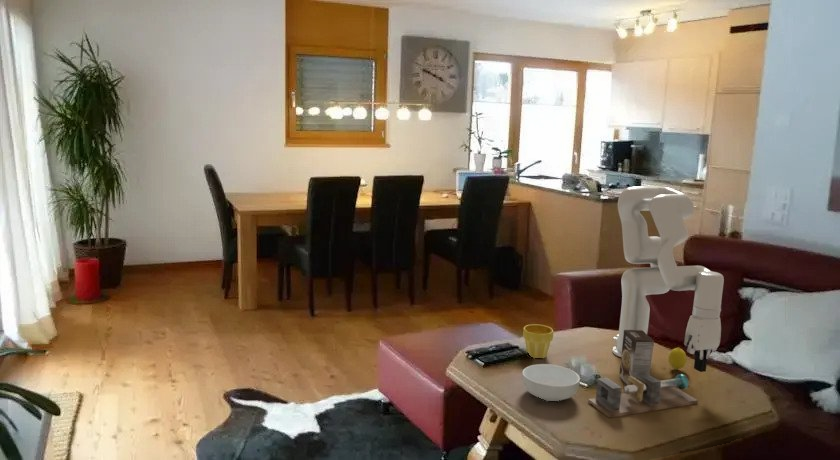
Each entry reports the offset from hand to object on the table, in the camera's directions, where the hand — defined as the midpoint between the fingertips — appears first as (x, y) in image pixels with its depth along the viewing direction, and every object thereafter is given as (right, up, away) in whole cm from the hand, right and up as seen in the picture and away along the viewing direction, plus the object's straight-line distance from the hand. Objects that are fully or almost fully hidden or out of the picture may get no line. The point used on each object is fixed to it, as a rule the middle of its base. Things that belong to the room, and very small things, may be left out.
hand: (699, 370), depth 197 cm
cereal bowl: (-47, -7, -3) cm, 47 cm away
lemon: (+1, -5, +21) cm, 21 cm away
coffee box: (-17, -6, +10) cm, 21 cm away
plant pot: (-45, -1, +28) cm, 53 cm away
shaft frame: (-19, -9, -5) cm, 21 cm away
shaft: (-15, -6, -4) cm, 17 cm away
